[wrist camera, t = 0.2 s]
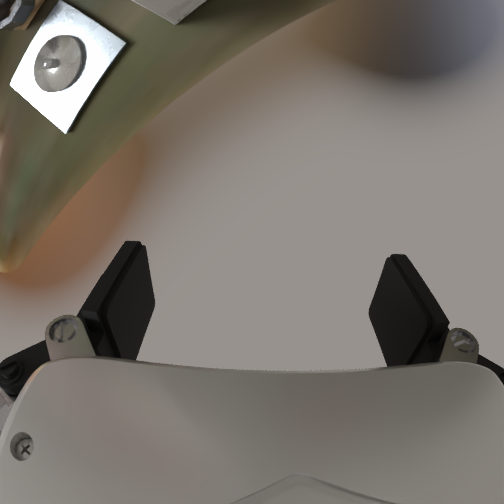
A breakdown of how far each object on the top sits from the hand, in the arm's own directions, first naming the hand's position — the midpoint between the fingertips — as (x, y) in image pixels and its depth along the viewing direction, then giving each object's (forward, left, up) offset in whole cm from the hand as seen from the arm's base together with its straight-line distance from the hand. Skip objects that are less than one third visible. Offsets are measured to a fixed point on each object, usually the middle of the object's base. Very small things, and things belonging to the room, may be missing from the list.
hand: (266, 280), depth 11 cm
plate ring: (+5, -45, -28) cm, 53 cm away
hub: (+9, -31, -31) cm, 45 cm away
